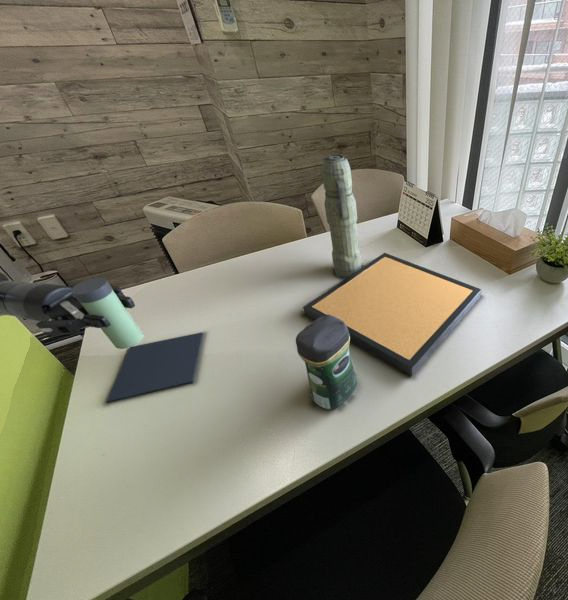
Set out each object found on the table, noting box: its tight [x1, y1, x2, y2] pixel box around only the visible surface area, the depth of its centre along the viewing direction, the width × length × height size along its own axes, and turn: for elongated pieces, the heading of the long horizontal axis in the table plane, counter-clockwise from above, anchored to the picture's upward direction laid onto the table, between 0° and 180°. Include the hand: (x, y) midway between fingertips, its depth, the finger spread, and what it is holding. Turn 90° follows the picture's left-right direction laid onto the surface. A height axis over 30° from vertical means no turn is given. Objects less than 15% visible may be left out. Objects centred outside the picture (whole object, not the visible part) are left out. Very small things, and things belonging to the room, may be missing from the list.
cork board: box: [302, 252, 483, 377], centre depth 90 cm, size 36×3×35 cm
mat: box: [106, 332, 204, 404], centre depth 75 cm, size 16×16×1 cm
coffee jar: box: [295, 314, 358, 410], centre depth 63 cm, size 10×8×19 cm
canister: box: [71, 277, 144, 350], centre depth 63 cm, size 5×5×14 cm
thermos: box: [321, 154, 363, 279], centre depth 94 cm, size 9×12×35 cm
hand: (119, 312), depth 62 cm, fingers closed on canister, 5 cm apart
